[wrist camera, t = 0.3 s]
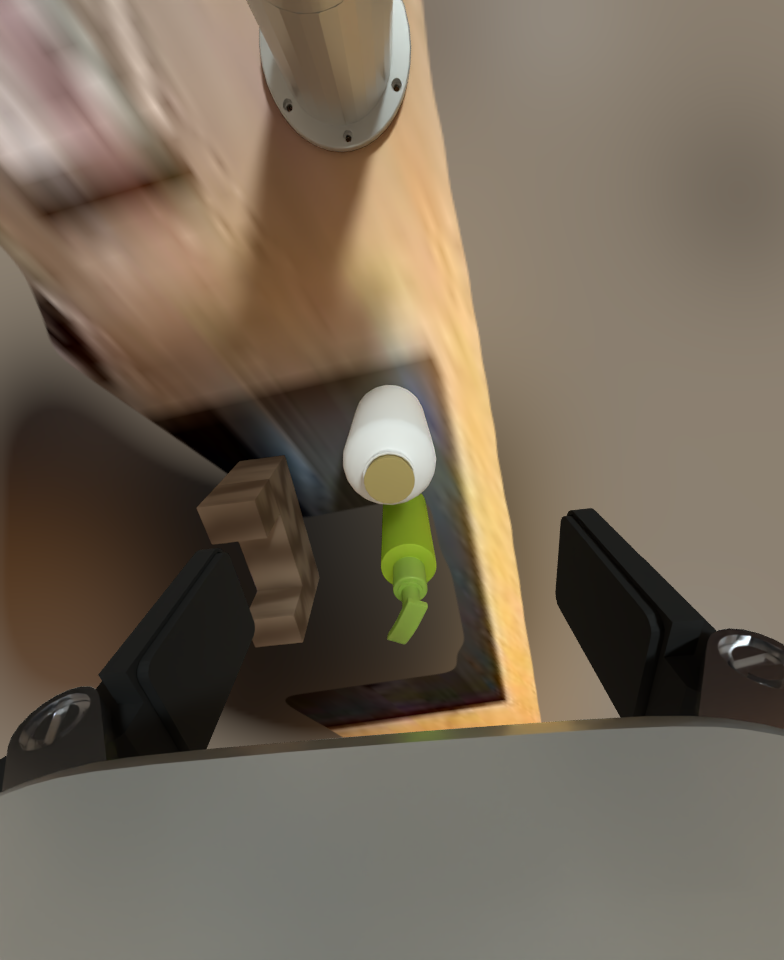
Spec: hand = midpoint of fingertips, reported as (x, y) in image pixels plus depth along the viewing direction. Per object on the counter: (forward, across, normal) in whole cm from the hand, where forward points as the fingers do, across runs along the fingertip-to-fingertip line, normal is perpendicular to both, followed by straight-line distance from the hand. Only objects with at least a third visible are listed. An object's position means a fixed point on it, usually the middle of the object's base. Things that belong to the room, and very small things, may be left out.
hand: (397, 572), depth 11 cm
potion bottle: (+37, +1, +5) cm, 37 cm away
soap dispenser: (+37, +1, +18) cm, 41 cm away
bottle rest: (+37, +18, +19) cm, 45 cm away
